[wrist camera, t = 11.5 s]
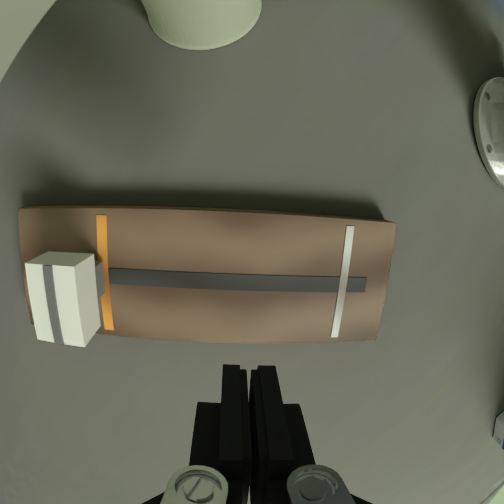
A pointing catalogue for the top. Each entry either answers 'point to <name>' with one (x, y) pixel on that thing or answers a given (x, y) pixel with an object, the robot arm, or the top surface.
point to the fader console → (223, 270)
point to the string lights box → (499, 430)
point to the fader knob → (65, 296)
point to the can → (201, 21)
